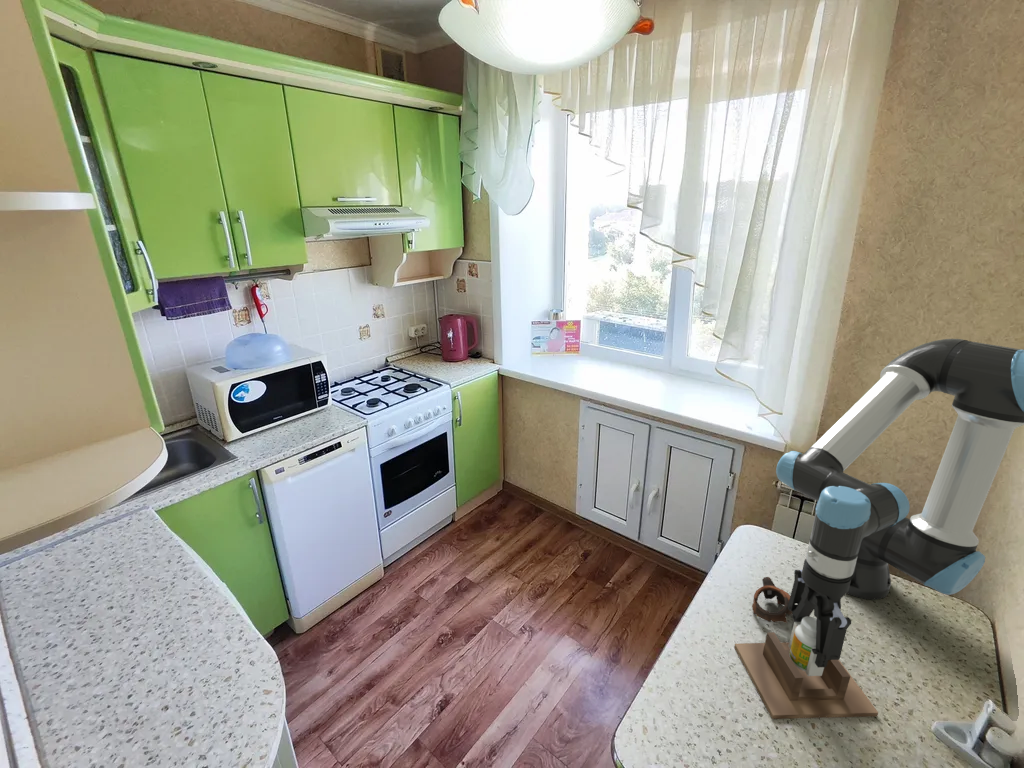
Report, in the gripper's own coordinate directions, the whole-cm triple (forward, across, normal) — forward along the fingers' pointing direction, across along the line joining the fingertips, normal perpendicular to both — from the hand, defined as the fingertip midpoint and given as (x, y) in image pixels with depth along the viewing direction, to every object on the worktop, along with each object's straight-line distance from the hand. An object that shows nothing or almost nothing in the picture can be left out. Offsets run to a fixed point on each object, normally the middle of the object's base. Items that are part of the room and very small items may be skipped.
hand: (804, 660), depth 96 cm
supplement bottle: (+1, 0, 0) cm, 1 cm away
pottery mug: (+6, -18, +4) cm, 19 cm away
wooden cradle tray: (+5, 0, 0) cm, 5 cm away
